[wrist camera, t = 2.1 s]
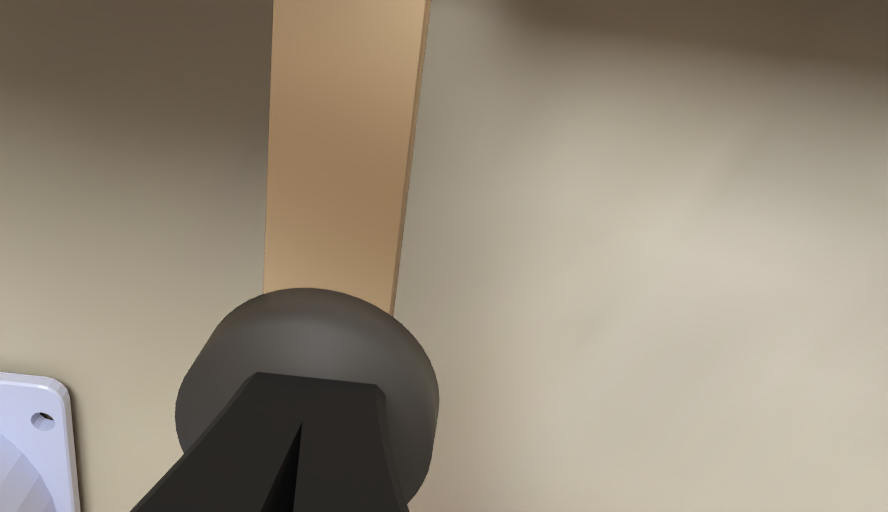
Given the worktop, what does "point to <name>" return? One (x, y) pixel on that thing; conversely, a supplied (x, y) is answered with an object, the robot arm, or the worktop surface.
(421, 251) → the worktop surface
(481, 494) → the worktop surface
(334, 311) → the lever
